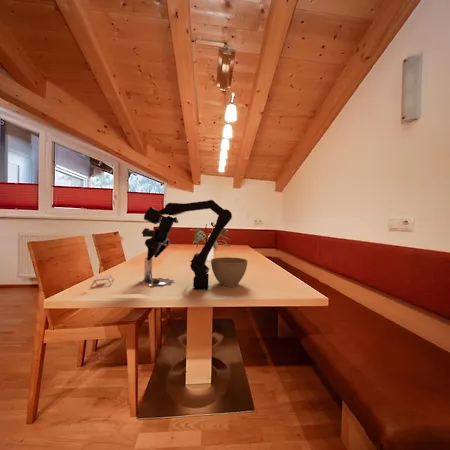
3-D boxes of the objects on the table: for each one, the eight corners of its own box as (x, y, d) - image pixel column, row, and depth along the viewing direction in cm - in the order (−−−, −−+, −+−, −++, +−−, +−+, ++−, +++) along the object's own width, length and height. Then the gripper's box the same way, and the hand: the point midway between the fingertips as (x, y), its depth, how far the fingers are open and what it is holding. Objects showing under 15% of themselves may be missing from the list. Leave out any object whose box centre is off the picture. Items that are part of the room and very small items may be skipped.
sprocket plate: (177, 281, 122) (177, 275, 122) (171, 291, 105) (171, 284, 105) (143, 280, 122) (143, 274, 122) (131, 290, 105) (131, 283, 105)
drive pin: (152, 279, 118) (153, 257, 118) (150, 281, 114) (151, 258, 114) (145, 279, 118) (145, 257, 118) (143, 281, 114) (143, 258, 114)
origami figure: (108, 292, 102) (108, 280, 102) (88, 291, 102) (88, 280, 102) (120, 284, 114) (120, 274, 114) (102, 284, 114) (102, 273, 114)
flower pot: (222, 278, 132) (223, 256, 131) (252, 283, 122) (253, 259, 122) (203, 285, 116) (203, 260, 116) (235, 291, 107) (236, 264, 107)
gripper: (155, 221, 122) (144, 249, 123) (140, 221, 104) (127, 254, 104) (175, 230, 122) (163, 258, 122) (164, 231, 103) (150, 264, 104)
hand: (151, 258), depth 113 cm, fingers open, 9 cm apart
